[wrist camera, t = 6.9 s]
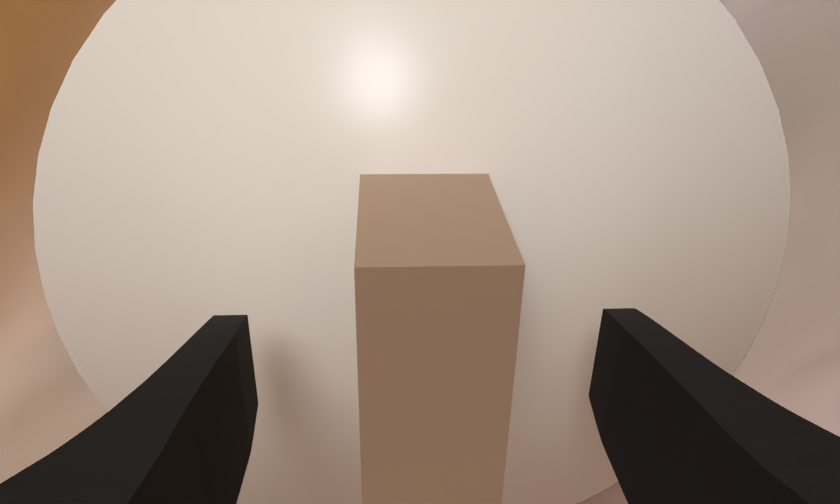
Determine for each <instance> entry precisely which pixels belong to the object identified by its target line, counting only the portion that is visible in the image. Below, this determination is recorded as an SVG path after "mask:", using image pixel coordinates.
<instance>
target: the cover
mask: <svg viewBox="0 0 840 504" xmlns="http://www.w3.org/2000/svg"><path fill="white" fill-rule="evenodd" d="M790 202H791V194H790V178H789V162H788V152H787V147H786V142H785V138H784V133H783V129H782V124H781V120H780V115H779V110H778V107H777V104H776V102H775V99H774V97H773V94H772V91H771V89H770V86H769V84H768V81H767V79H766V76H765V74H764V71H763V68H762V66H761V63H760V61H759V60H758V58H757V56H756V55H755V53H754V51H753V50H752V48H751V46H750V44H749V43H748V41H747V39H746V38H745V36H744V34H743V33H742V31H741V29H740V27H739V26H738V24H737V22H736V21H735V19H734V18H733V17H732V15H731V14H730V13H729V12H728V11H727V9H726V8H725V7H724V6H723V5H722V3H721V2H720V1H719V0H116V2H115V3H114V4H113V5H112V6H111V7H110V8H109V9H108V10H107V11H106V12H105V13H104V15H103V16H102V18H101V19H100V21H99V22H98V24H97V25H96V27H95V28H94V30H93V31H92V33H91V34H90V36H89V37H88V39H87V40H86V42H85V43H84V45H83V46H82V48H81V49H80V51H79V52H78V54H77V55H76V57H75V58H74V60H73V61H72V64H71V66H70V68H69V70H68V72H67V75H66V77H65V79H64V81H63V83H62V86H61V88H60V90H59V92H58V94H57V97H56V99H55V101H54V103H53V105H52V108H51V111H50V114H49V118H48V122H47V125H46V129H45V133H44V136H43V140H42V144H41V147H40V151H39V155H38V161H37V171H36V180H35V189H34V199H33V217H34V237H35V252H36V257H37V262H38V267H39V272H40V277H41V282H42V287H43V292H44V296H45V298H46V301H47V304H48V307H49V309H50V312H51V315H52V318H53V321H54V323H55V326H56V329H57V332H58V334H59V337H60V339H61V340H62V342H63V344H64V346H65V348H66V350H67V352H68V354H69V356H70V357H71V359H72V361H73V363H74V365H75V367H76V369H77V371H78V372H79V374H80V375H81V377H82V378H83V380H84V381H85V382H86V384H87V385H88V387H89V388H90V390H91V391H92V392H93V394H94V395H95V397H96V398H97V399H98V401H99V402H100V404H101V405H102V406H103V408H104V409H105V410H106V411H107V412H109V411H110V410H111V409H112V408H113V407H115V406H116V405H117V404H118V403H119V402H120V401H122V400H123V399H124V398H125V397H126V396H128V395H129V394H130V393H131V392H132V391H134V390H135V389H136V388H137V387H138V386H139V385H141V384H142V383H143V382H144V381H145V380H146V379H148V378H149V377H150V376H151V375H152V374H153V373H154V372H155V371H156V370H157V369H158V368H159V367H160V366H161V365H163V364H164V363H165V362H166V361H167V360H168V359H169V358H170V357H171V356H172V355H173V354H174V353H175V352H176V351H177V350H178V349H179V348H180V347H181V346H182V345H183V344H184V343H185V342H186V341H187V340H188V339H189V338H190V337H192V336H193V335H194V334H195V333H196V332H197V331H198V330H199V329H200V328H201V327H202V326H203V325H204V324H205V323H206V322H207V321H208V320H209V319H210V318H211V317H212V316H213V315H248V323H249V331H250V339H251V348H252V356H253V364H254V372H255V380H256V389H257V397H258V409H257V416H256V423H255V430H254V436H253V443H252V449H251V454H250V457H249V461H248V465H247V468H246V472H245V475H244V479H243V482H242V486H241V489H240V493H239V496H238V500H237V503H236V504H577V503H579V502H581V501H583V500H585V499H588V498H590V497H592V496H594V495H596V494H598V493H600V492H602V491H604V490H605V489H607V488H609V487H610V486H612V485H614V484H615V483H617V482H618V479H617V477H616V475H615V472H614V470H613V468H612V465H611V463H610V461H609V459H608V456H607V454H606V452H605V449H604V447H603V444H602V442H601V438H600V435H599V432H598V428H597V425H596V422H595V418H594V414H593V410H592V407H591V403H590V399H589V389H590V383H591V377H592V371H593V365H594V359H595V353H596V347H597V341H598V335H599V329H600V323H601V317H602V311H603V309H617V308H635V309H637V310H639V311H640V312H642V313H644V314H645V315H647V316H648V317H650V318H651V319H652V320H654V321H655V322H657V323H658V324H660V325H661V326H662V327H664V328H665V329H667V330H668V331H669V332H671V333H672V334H673V335H675V336H676V337H678V338H679V339H680V340H682V341H683V342H685V343H686V344H687V345H689V346H690V347H692V348H693V349H694V350H696V351H697V352H699V353H700V354H701V355H703V356H704V357H706V358H707V359H709V360H710V361H711V362H713V363H714V364H716V365H717V366H719V367H720V368H722V369H723V370H725V371H726V372H728V373H729V374H731V375H733V374H734V372H735V371H736V369H737V368H738V367H739V365H740V364H741V362H742V361H743V359H744V358H745V356H746V354H747V352H748V350H749V348H750V346H751V344H752V342H753V341H754V339H755V337H756V335H757V333H758V331H759V329H760V327H761V325H762V323H763V321H764V318H765V316H766V313H767V310H768V308H769V305H770V302H771V300H772V297H773V294H774V292H775V289H776V286H777V284H778V280H779V275H780V271H781V266H782V262H783V258H784V253H785V249H786V245H787V237H788V225H789V214H790Z"/></svg>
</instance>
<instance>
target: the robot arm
mask: <svg viewBox="0 0 840 504" xmlns="http://www.w3.org/2000/svg"><path fill="white" fill-rule="evenodd" d="M589 399H590V403H591V407H592V410H593V414H594V418H595V422H596V425H597V428H598V432H599V435H600V438H601V442H602V444H603V447H604V449H605V452H606V454H607V456H608V459H609V461H610V463H611V465H612V468H613V470H614V472H615V475H616V477H617V479H618V482H619V484H620V486H621V488H622V491H623V493H624V495H625V497H626V500H627V502H628V504H840V437H839V436H837V435H835V434H833V433H831V432H829V431H827V430H825V429H823V428H821V427H819V426H817V425H815V424H813V423H812V422H810V421H808V420H806V419H804V418H802V417H800V416H798V415H797V414H795V413H793V412H791V411H789V410H787V409H786V408H784V407H782V406H780V405H779V404H777V403H775V402H774V401H772V400H770V399H769V398H767V397H765V396H764V395H762V394H761V393H759V392H757V391H756V390H754V389H753V388H751V387H749V386H748V385H746V384H744V383H743V382H741V381H740V380H738V379H737V378H735V377H734V376H732V375H731V374H729V373H728V372H726V371H725V370H723V369H722V368H720V367H719V366H717V365H716V364H714V363H713V362H711V361H710V360H709V359H707V358H706V357H704V356H703V355H701V354H700V353H699V352H697V351H696V350H694V349H693V348H692V347H690V346H689V345H687V344H686V343H685V342H683V341H682V340H680V339H679V338H678V337H676V336H675V335H673V334H672V333H671V332H669V331H668V330H667V329H665V328H664V327H662V326H661V325H660V324H658V323H657V322H655V321H654V320H652V319H651V318H650V317H648V316H647V315H645V314H644V313H642V312H640V311H639V310H637V309H635V308H617V309H603V311H602V317H601V323H600V329H599V335H598V341H597V347H596V353H595V359H594V365H593V371H592V377H591V383H590V389H589ZM257 409H258V397H257V389H256V380H255V372H254V364H253V356H252V348H251V339H250V331H249V323H248V315H213V316H212V317H211V318H210V319H209V320H208V321H207V322H206V323H205V324H204V325H203V326H202V327H201V328H200V329H199V330H198V331H197V332H196V333H195V334H194V335H193V336H192V337H190V338H189V339H188V340H187V341H186V342H185V343H184V344H183V345H182V346H181V347H180V348H179V349H178V350H177V351H176V352H175V353H174V354H173V355H172V356H171V357H170V358H169V359H168V360H167V361H166V362H165V363H164V364H163V365H161V366H160V367H159V368H158V369H157V370H156V371H155V372H154V373H153V374H152V375H151V376H150V377H149V378H148V379H146V380H145V381H144V382H143V383H142V384H141V385H139V386H138V387H137V388H136V389H135V390H134V391H132V392H131V393H130V394H129V395H128V396H126V397H125V398H124V399H123V400H122V401H120V402H119V403H118V404H117V405H116V406H115V407H113V408H112V409H111V410H110V411H109V412H107V413H106V414H105V415H103V416H102V417H101V418H100V419H98V420H97V421H96V422H94V423H93V424H92V425H90V426H89V427H88V428H86V429H85V430H84V431H82V432H81V433H79V434H78V435H76V436H75V437H74V438H72V439H71V440H69V441H68V442H66V443H65V444H63V445H62V446H61V447H59V448H58V449H56V450H55V451H53V452H52V453H50V454H49V455H47V456H45V457H44V458H42V459H41V460H39V461H37V462H36V463H34V464H32V465H31V466H29V467H27V468H26V469H24V470H22V471H21V472H19V473H17V474H16V475H14V476H12V477H11V478H9V479H7V480H6V481H4V482H2V483H1V484H0V504H236V503H237V500H238V496H239V493H240V489H241V486H242V482H243V479H244V475H245V472H246V468H247V465H248V461H249V457H250V454H251V449H252V443H253V436H254V430H255V423H256V416H257Z"/></svg>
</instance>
